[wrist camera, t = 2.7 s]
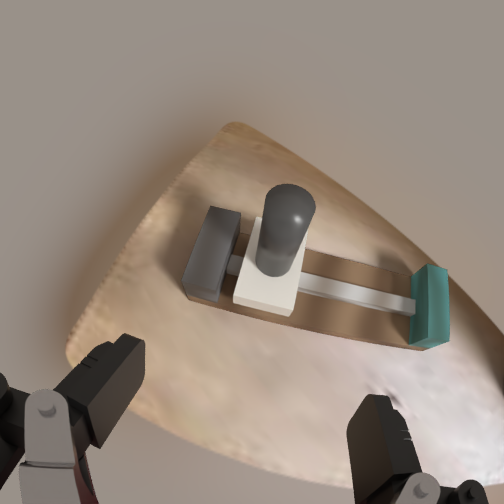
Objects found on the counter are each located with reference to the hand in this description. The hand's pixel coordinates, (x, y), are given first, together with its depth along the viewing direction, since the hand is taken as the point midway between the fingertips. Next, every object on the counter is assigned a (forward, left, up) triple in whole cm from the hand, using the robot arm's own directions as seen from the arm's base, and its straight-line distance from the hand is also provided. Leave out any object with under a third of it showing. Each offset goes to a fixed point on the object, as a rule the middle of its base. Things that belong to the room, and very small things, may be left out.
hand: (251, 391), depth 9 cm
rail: (-6, -11, -17) cm, 21 cm away
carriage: (0, -11, -14) cm, 18 cm away
